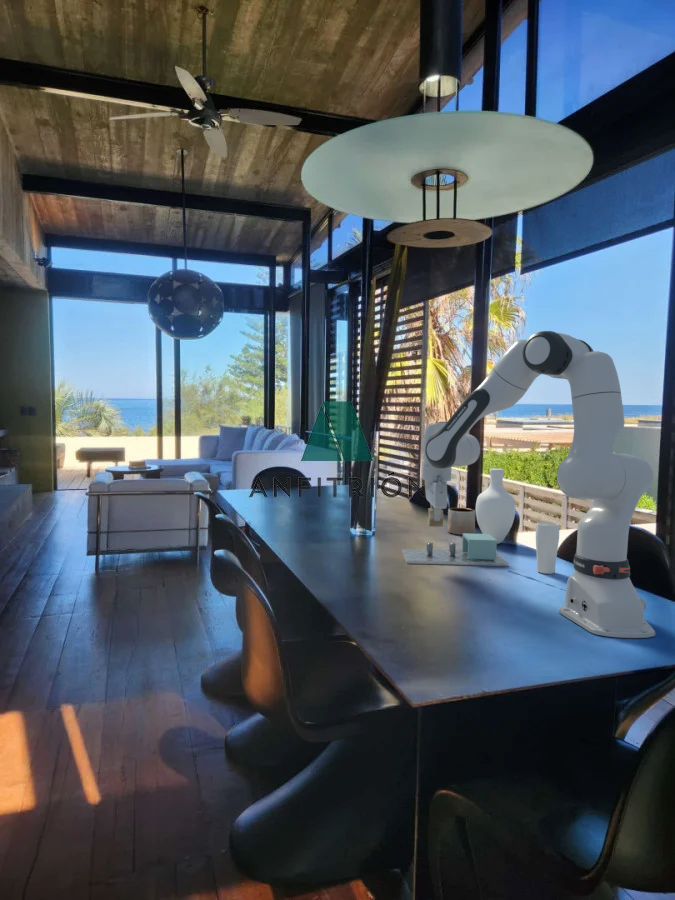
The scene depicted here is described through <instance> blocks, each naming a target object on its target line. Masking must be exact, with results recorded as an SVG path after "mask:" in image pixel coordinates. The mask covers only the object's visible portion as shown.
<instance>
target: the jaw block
mask: <svg viewBox="0 0 675 900" xmlns="http://www.w3.org/2000/svg"><path fill="white" fill-rule="evenodd" d="M427 511H428V514H427V525H428V526H429V527H444V509H442V510H441V515H440V521H435V520H434V508H431V507H430V508H429V507H428V509H427Z"/></svg>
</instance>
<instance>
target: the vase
mask: <svg viewBox="0 0 675 900" xmlns="http://www.w3.org/2000/svg"><path fill="white" fill-rule="evenodd" d="M504 474H505V469H504V468H493V467H492V468H489V476H490V482H489V486H488V487H487V488H486V489H485V490H484V491H482V492H481V493H479V494H478V496H477V498H476V502H475V518H476V522H477V525H478V527H479V529H480V531H481V534H490V535H491V536H492V537H493V538H495V539H496V540H497V545H499V544H501V543H503V541H504V540H505V538H506V537H507V535H508V533H509V532H510V530H511V528H512V527H513V524H514V520H515V516H516V500H515V497H514V496H513V495H512V494H510V493H509V492H508V491H507V490H506V488H505V487H504V484H503V477H504Z"/></svg>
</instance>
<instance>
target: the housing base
mask: <svg viewBox="0 0 675 900" xmlns="http://www.w3.org/2000/svg"><path fill="white" fill-rule="evenodd" d="M433 545H434V544H433V542H426V549H425V548H424V549H423V548H422V549H420V548H419V549H417V548H401V552H402V555H403V558H404V560H405V562H406V564H408V565H409V564H411V565H412V564H415V565H416V564H417V565H447V566H448V565H450V566H483V567H484V566H485V567H486V566H487V567H489V566H490V567H508V565H509V563H508V562H507V561H506V560H505V558H503V557H502V556H501V555H500V554H499V553H498V552H496V560H490V559H468V552H462V549H461V550H460V549H459V550H458V549H457V550H456V545H457V544H456V543H454V542H453V543H452V542H450V543H449V544H448V545H449V547H448V549H433V548H434V547H433Z"/></svg>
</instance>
